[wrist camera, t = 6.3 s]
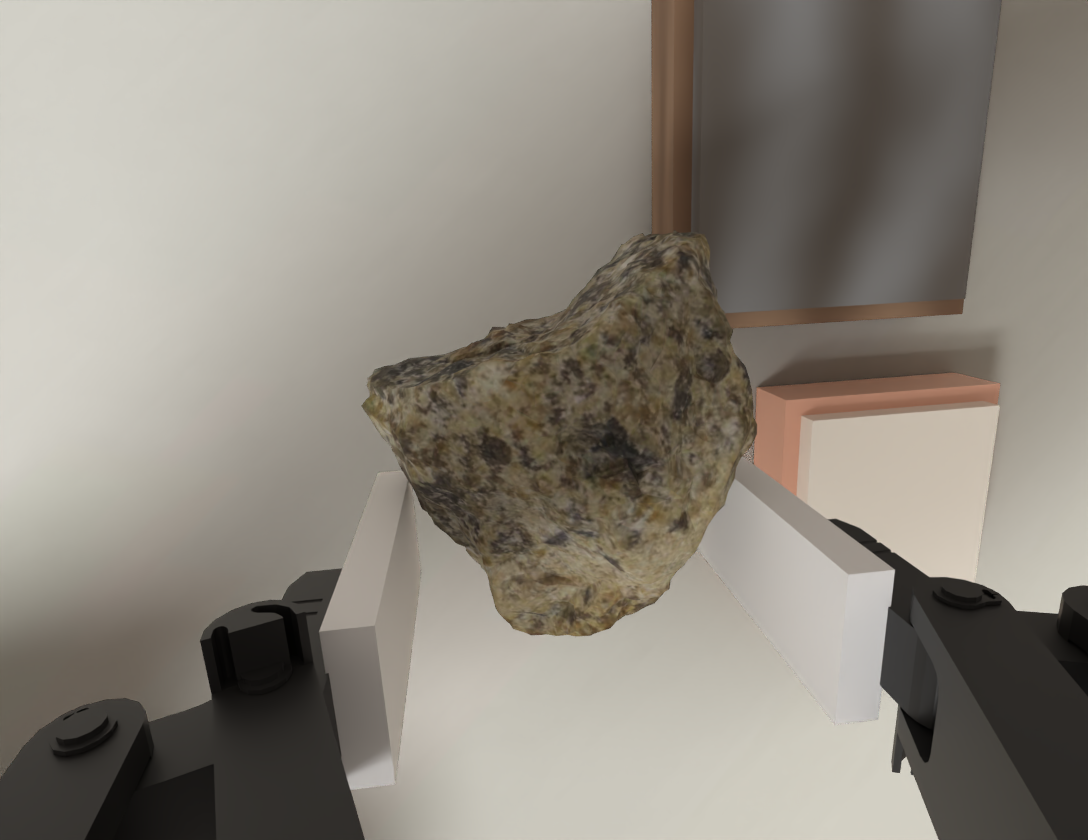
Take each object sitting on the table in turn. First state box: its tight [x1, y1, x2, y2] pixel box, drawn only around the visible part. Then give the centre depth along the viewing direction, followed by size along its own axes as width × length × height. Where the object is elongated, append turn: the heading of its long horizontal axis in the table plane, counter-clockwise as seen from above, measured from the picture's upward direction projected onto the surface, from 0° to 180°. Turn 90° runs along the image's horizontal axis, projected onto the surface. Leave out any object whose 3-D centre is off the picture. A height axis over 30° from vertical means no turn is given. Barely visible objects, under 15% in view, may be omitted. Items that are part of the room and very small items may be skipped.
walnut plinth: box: [652, 0, 1002, 328], centre depth 28 cm, size 14×14×4 cm
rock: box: [362, 230, 757, 636], centre depth 13 cm, size 7×8×4 cm
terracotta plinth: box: [754, 373, 1000, 583], centre depth 33 cm, size 11×11×4 cm
